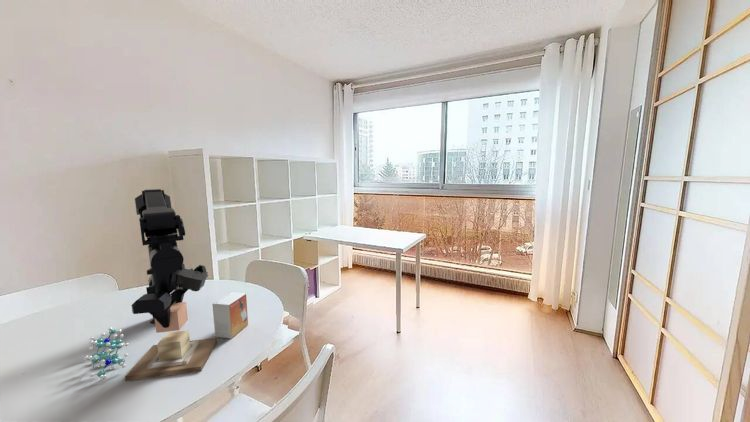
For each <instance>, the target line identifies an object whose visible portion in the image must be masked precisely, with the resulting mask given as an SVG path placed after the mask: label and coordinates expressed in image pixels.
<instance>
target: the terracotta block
mask: <svg viewBox="0 0 750 422" xmlns="http://www.w3.org/2000/svg"><path fill="white" fill-rule="evenodd" d="M188 316H189V315H188V308H187V301H184V302H181V303H174V304H173V305H172V306H171V308H170V325H169V327H168V328H164V327H163V326H162V325H161V324H160V323H159V322H158V321H157V320H156V319H155V318H154V319H155V323H154V325H155V333H156V334H158V333H169V332H178V331H181V329H182V328H183V326H185V324H186V323H187V322H188V321H189V318H188Z"/></svg>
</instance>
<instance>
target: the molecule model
mask: <svg viewBox="0 0 750 422" xmlns="http://www.w3.org/2000/svg"><path fill="white" fill-rule="evenodd" d="M122 330H123V329H122V328H121V329H118V330H116V329H115V328H113V327H112V326H109V327H108V333H109V335H108V337H107V338H105V339H104V338H103V337H104V336H105V335H106V332H101V334H100V336H101V337H100V338H95V337H94V336H90V337H89V339H90V342H89V344H90V345H91V346H89V347H88V350H89V351H91V350H93V349H94V346H95V345H96V348H97V350H96V352H94V353H92V354H91V355H86V356H85V357H84V360H91V361H90V362H91V363H92V365H90V366H89V370H93V369H94V367H95V366H94V365H95V364H97V363H98V362H99V364H98V365H97V366H96V368H98V369H100V368H101V367H102V364H105V366H104V367H103V369H102V370H99V371H98V372H97V373H94V372H90V374H89V377H91V378H93V377H94V376H97V377H98V378H99V379H100V380H102V379H104V380H105V379H106V378H107V376H108V375H107V374H106V371H105V369H106V368H107V366H110V365H111V364H112V365H111V366H110V367H109V370H110V371H113V370H115V369H114V368H115V367H114V365H116V364H117V365H119V366H120V367H121V368H122V369H124V368H126V366H127V365H126V363H125V361H126V357H128V356H129V353H127V352H126V353H124V355H123V357H122V356H119V354H118V351H119V350H120V349H122V348H123V347H124V346H125V347H128V346H129V345H130V343H129V342H126V343H125V342H123V340H122V338H123V337H124V333H122ZM117 332H118V333H122V334H120V335H119V339H117V340H116V338H117V337H118V334H116V333H117ZM111 336H112V337H113V339H111V340H110V337H111ZM103 347H104V349H103V351H101V352H99V350H100V349H101V348H103ZM107 348H108V349H107ZM113 350H116V351H115V353H113V354H111V353H112V352H113Z"/></svg>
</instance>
